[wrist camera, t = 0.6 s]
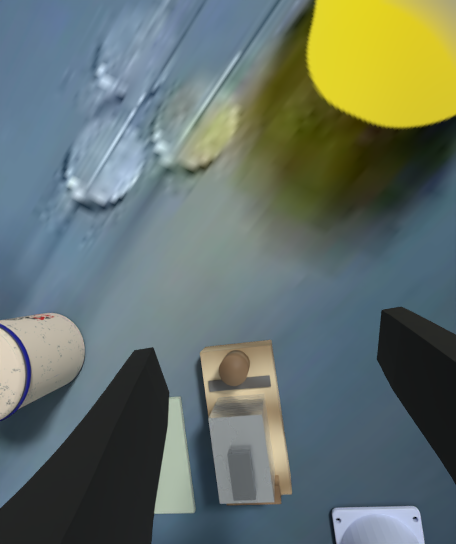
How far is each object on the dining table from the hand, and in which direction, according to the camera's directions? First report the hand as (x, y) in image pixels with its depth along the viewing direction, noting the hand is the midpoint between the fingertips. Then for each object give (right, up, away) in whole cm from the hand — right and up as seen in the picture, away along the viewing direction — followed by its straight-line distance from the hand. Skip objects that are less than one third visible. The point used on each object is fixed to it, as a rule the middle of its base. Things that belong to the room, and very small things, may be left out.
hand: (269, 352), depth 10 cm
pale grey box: (0, -13, +20) cm, 24 cm away
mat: (-10, -17, +24) cm, 31 cm away
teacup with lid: (-23, -7, +26) cm, 36 cm away
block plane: (+1, -12, +22) cm, 25 cm away
